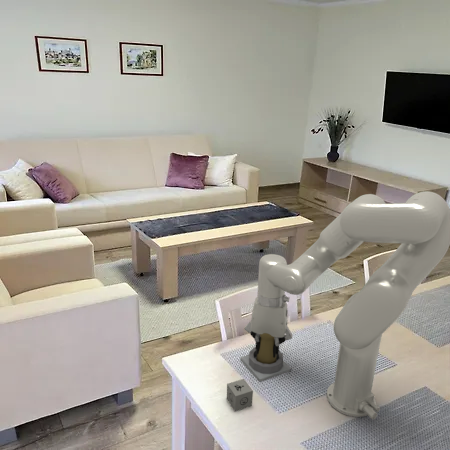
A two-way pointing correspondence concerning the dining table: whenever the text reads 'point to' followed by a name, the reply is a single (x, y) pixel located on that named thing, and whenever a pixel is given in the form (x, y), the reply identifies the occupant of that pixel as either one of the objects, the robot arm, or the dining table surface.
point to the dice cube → (239, 394)
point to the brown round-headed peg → (266, 349)
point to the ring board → (264, 376)
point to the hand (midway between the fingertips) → (266, 352)
